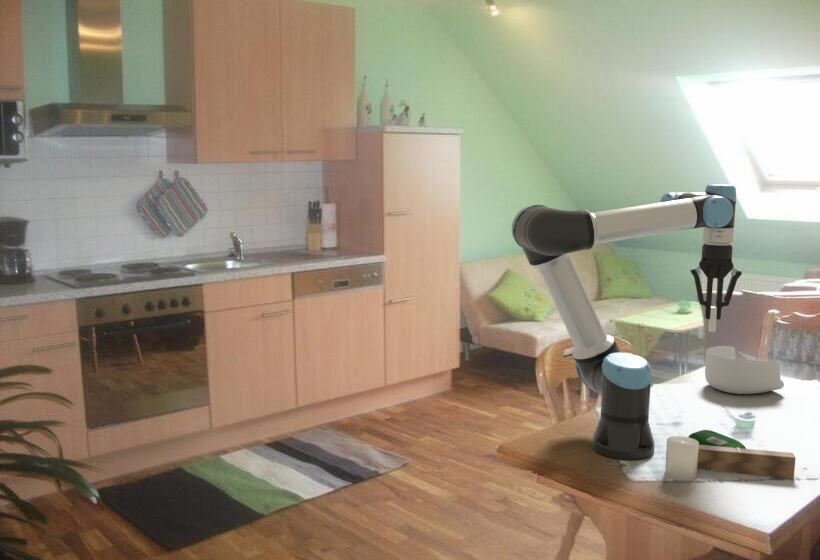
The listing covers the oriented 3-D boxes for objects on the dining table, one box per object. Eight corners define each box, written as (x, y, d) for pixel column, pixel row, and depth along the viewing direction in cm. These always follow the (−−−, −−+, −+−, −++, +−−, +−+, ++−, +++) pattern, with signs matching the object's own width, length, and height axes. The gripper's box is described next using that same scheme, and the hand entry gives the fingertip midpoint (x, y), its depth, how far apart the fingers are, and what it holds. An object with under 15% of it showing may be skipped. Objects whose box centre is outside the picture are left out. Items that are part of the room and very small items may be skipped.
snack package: (731, 470, 193) (733, 449, 193) (681, 448, 207) (683, 428, 206) (752, 465, 197) (754, 444, 196) (701, 444, 210) (703, 424, 210)
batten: (692, 468, 194) (694, 448, 193) (691, 464, 197) (693, 443, 196) (793, 478, 188) (795, 457, 188) (791, 473, 191) (792, 452, 190)
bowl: (691, 383, 265) (693, 347, 263) (740, 378, 270) (743, 343, 268) (732, 401, 246) (735, 363, 244) (785, 395, 252) (788, 358, 250)
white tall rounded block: (665, 478, 188) (667, 445, 187) (664, 467, 195) (666, 434, 193) (698, 481, 186) (700, 448, 185) (695, 470, 193) (697, 437, 192)
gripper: (692, 244, 214) (687, 332, 218) (746, 245, 211) (739, 335, 214) (690, 241, 221) (685, 326, 225) (741, 242, 218) (735, 329, 222)
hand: (711, 331), depth 220 cm, fingers closed
